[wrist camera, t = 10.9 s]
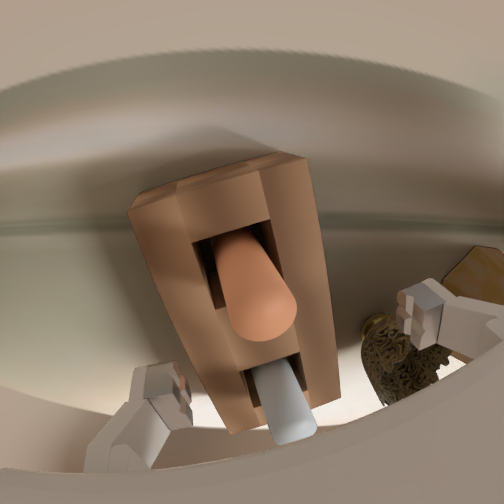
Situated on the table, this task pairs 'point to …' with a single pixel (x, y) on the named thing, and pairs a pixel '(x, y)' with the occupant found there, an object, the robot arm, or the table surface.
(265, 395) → the seated peg
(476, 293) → the windmill
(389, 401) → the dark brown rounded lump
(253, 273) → the peg
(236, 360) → the peg block
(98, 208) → the table surface
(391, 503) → the robot arm
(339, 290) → the table surface
